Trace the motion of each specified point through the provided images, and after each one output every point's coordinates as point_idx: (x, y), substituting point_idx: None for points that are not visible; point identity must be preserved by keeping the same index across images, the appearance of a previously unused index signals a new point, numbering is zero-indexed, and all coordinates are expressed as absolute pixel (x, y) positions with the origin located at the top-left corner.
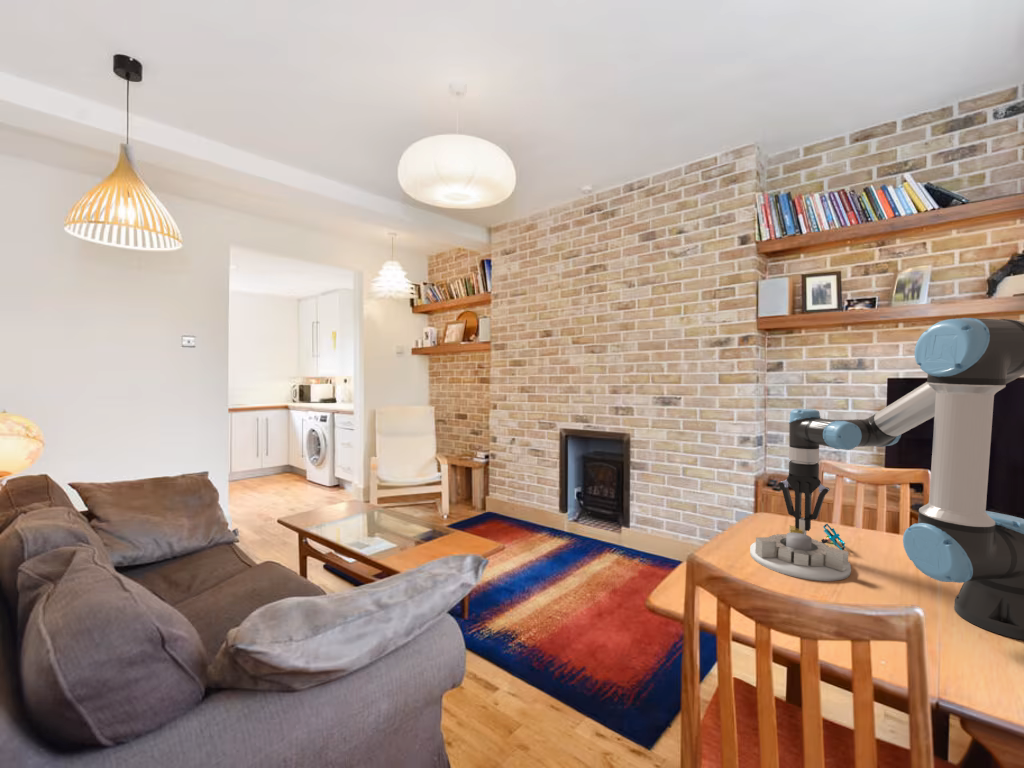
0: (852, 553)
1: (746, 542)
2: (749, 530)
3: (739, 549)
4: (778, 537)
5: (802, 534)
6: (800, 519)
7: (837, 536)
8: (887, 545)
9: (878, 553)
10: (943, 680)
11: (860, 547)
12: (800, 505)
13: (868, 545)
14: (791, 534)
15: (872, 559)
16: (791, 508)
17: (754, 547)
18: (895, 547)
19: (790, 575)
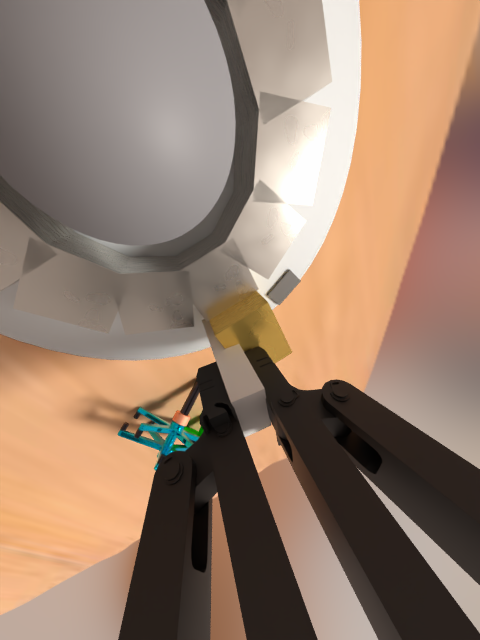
0: (111, 418)
1: (364, 196)
2: (366, 314)
3: (382, 47)
4: (282, 166)
5: (143, 227)
6: (257, 392)
7: (158, 447)
8: (118, 504)
9: (83, 469)
10: None
11: (136, 458)
12: (330, 527)
13: (137, 477)
14: (194, 111)
15: (45, 433)
16: (366, 435)
17: (342, 54)
18: (101, 510)
19: None
